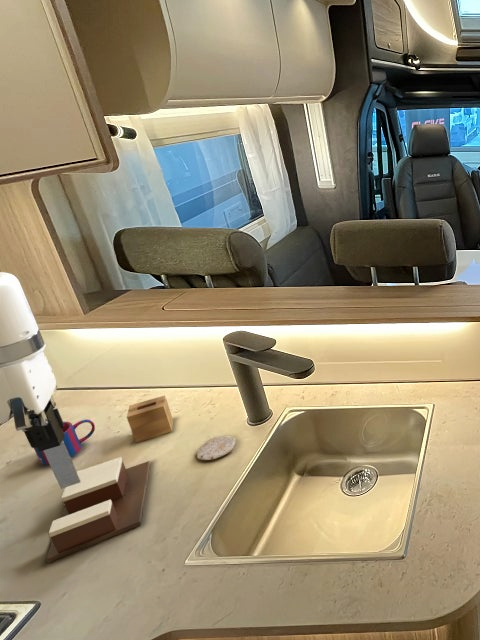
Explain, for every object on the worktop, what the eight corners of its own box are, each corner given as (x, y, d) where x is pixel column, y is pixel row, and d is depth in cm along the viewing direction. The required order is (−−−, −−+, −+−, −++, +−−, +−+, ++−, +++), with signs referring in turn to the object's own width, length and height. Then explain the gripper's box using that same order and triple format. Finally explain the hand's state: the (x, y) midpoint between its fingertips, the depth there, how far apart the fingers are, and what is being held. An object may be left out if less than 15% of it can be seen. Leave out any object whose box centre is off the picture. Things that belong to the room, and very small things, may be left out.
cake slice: (57, 552, 76) (48, 533, 74) (62, 539, 78) (52, 520, 77) (116, 529, 80) (108, 510, 79) (118, 517, 83) (110, 499, 81)
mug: (40, 455, 98) (29, 432, 95) (98, 432, 105) (89, 410, 102) (41, 471, 94) (30, 447, 91) (101, 446, 101) (92, 423, 98)
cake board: (47, 563, 75) (45, 559, 75) (72, 491, 89) (70, 487, 89) (140, 525, 82) (139, 521, 82) (150, 464, 96) (149, 460, 96)
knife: (58, 494, 75) (24, 419, 69) (63, 482, 77) (29, 409, 72) (78, 487, 76) (46, 413, 71) (82, 476, 79) (51, 403, 73)
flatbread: (189, 460, 97) (188, 457, 97) (213, 436, 104) (212, 433, 104) (222, 462, 97) (221, 459, 96) (244, 438, 104) (243, 435, 103)
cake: (69, 516, 83) (61, 498, 81) (78, 491, 88) (70, 473, 86) (123, 496, 87) (115, 479, 85) (127, 473, 92) (121, 456, 91)
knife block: (136, 443, 102) (126, 417, 99) (138, 430, 106) (129, 405, 103) (171, 431, 106) (163, 406, 103) (173, 419, 109) (165, 395, 107)
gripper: (-7, 332, 71) (33, 417, 77) (-52, 382, 58) (-1, 479, 65) (55, 320, 75) (88, 403, 81) (25, 365, 62) (66, 458, 69)
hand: (48, 436), depth 73 cm, fingers closed on knife, 3 cm apart
